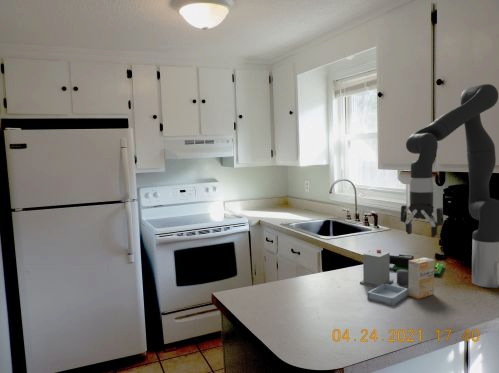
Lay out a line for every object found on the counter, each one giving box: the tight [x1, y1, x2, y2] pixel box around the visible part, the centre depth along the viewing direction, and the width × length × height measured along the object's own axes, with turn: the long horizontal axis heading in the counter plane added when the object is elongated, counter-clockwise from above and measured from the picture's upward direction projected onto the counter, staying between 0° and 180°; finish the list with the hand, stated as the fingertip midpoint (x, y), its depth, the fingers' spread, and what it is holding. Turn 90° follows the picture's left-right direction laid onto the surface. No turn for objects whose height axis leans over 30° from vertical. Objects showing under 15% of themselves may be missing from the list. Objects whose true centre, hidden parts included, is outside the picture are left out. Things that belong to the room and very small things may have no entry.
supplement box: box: [407, 257, 435, 300], centre depth 144 cm, size 8×5×13 cm, turn 118°
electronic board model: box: [368, 250, 445, 275], centre depth 177 cm, size 30×7×15 cm
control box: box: [359, 249, 394, 288], centre depth 158 cm, size 9×10×13 cm
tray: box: [366, 283, 409, 306], centre depth 143 cm, size 9×12×2 cm
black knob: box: [396, 269, 409, 286], centre depth 157 cm, size 4×4×5 cm
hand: (421, 235), depth 143 cm, fingers open, 8 cm apart
